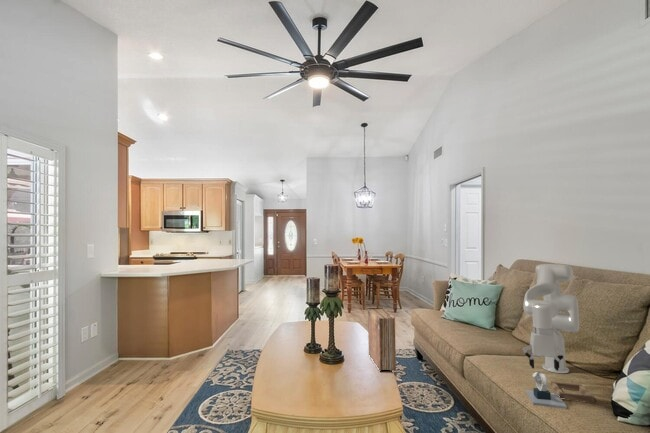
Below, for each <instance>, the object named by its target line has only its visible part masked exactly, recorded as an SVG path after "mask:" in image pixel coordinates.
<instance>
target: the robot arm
mask: <svg viewBox="0 0 650 433" xmlns="http://www.w3.org/2000/svg"><path fill="white" fill-rule="evenodd" d="M535 273H536V275H537V276H536V284H535V285H533V286H531V287H530V288H528V289H527V291H526V292H525V294H524V296H523V297H524V298H523V307H522V308H523V311H524V313H525V314H526V315H529V316H532V331H531V333H530V339H529V345H527V346H525V347H522V351H523V353H524V355H525V356H527V357H528V359H529V362H528V364H529V366H530V367H531V369H535V361H534V358H535V357H542V358H543V357H544V363H542V365H541V366H542V367H541V368H543V370H545V371H547V372H551V373H556V374H568V373H569V372H570V368H569V367H567V365H566V349H565V348H566V347H565V346H566V345H565V337H564V335H562V333H561V331H562V332H569V333H577V332H578V331H580V315H579V314H580V313H579V312H580V311H579V310H580V309H579V302H578V298H577V297H576V296H575V295H573V294H567V293H566V294H565V293H562V290H561V288H562V287H561V283H560V282H561V281H563V282H570V281H572V280H573V279H574V269H573V266H571V265H570V264H563V263H560V264H559V263H543V264H542V263H540V264H537V265H536V266H535ZM559 281H560V282H559ZM540 297H542V298H543V300H541V299H540V300H539V299H537V298H540ZM561 312H562V313H561ZM563 312H566V313H563ZM528 350H529V351H530V353H528Z"/></svg>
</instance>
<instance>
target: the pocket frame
mask: <svg viewBox="0 0 650 433" xmlns="http://www.w3.org/2000/svg"><path fill="white" fill-rule="evenodd" d="M551 386H552V387H551ZM550 387H551V389H554V390H555V391H556V392H555V391H554V390H553V391H554V392H555V393H557V394H558V395H559V396H560V398H565V399H571V400H570V401H572V400H578V401H577V402H581V401H585V402H584V403H589V402H591V403H592V404H594V403H595V397H594V396H593V395H592V393H590V392H589V391H588V390H587V389H586V388H585V386H583V385H582V384H581V383H580V384H579V383H572V382H570V383H569V382H559V381H550ZM560 388H564V389H563V390H568V389H569V391H570V390H571V391H576V392H580V393H581V394H579V393H578V394H577V393H570V392H563V391H562V389H560ZM591 403H590V404H591Z"/></svg>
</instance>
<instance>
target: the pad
mask: <svg viewBox="0 0 650 433" xmlns="http://www.w3.org/2000/svg"><path fill="white" fill-rule="evenodd" d="M550 393H551V400H545V399H537V398H536V397H535V396H534V390H529V389H526V390H525V394H526V395H527V396H528V398H529V400H530V401H531V403H532V405H534V406H542V407H547V408H548V407H551V408H558V409H564V408H567V409H568V405H566V403H565V401H563V399H561V398H560V397H559V396H558V394H557V393H556V392H550Z"/></svg>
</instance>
